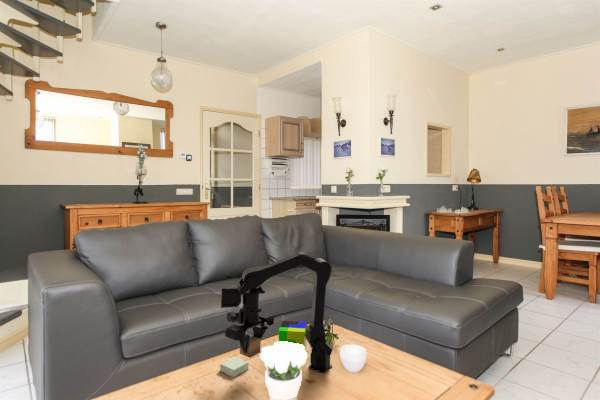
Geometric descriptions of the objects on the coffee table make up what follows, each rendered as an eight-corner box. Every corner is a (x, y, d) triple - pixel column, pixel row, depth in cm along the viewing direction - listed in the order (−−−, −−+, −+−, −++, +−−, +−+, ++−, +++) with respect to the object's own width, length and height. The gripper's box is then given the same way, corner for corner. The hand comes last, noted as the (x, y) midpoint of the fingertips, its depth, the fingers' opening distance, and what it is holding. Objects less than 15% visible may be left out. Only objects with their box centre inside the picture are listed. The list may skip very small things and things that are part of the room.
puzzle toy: (306, 345, 151) (306, 322, 150) (303, 357, 141) (304, 332, 141) (282, 344, 152) (282, 320, 151) (278, 355, 142) (278, 330, 142)
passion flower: (316, 352, 157) (314, 323, 163) (341, 349, 155) (338, 320, 162) (312, 347, 147) (309, 317, 154) (338, 344, 146) (335, 314, 152)
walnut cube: (260, 352, 127) (260, 338, 127) (250, 357, 123) (250, 343, 123) (250, 348, 130) (250, 334, 130) (239, 353, 126) (240, 339, 126)
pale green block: (248, 369, 131) (248, 362, 131) (233, 377, 126) (233, 370, 126) (234, 362, 136) (234, 356, 135) (220, 370, 130) (220, 363, 130)
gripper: (252, 294, 138) (252, 334, 139) (214, 307, 123) (213, 352, 124) (275, 300, 132) (274, 343, 132) (237, 315, 117) (236, 363, 117)
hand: (250, 349), depth 127 cm, fingers closed on walnut cube, 5 cm apart
